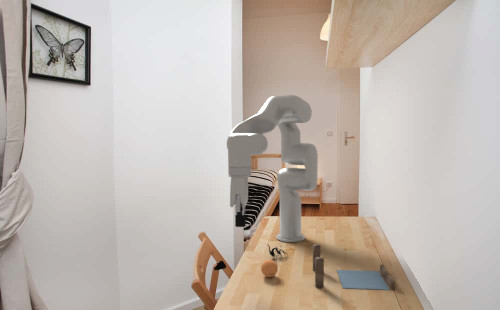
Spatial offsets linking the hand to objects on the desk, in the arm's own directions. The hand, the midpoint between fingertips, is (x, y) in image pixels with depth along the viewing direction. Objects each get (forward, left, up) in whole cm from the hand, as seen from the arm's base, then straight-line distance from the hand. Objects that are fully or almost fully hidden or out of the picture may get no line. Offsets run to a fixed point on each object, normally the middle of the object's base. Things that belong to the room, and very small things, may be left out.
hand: (240, 226), depth 121 cm
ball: (0, +10, -14) cm, 17 cm away
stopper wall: (0, +48, -17) cm, 50 cm away
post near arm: (-6, +26, -17) cm, 31 cm away
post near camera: (+6, +26, -17) cm, 31 cm away
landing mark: (0, +40, -17) cm, 43 cm away
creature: (-19, +12, -17) cm, 28 cm away
